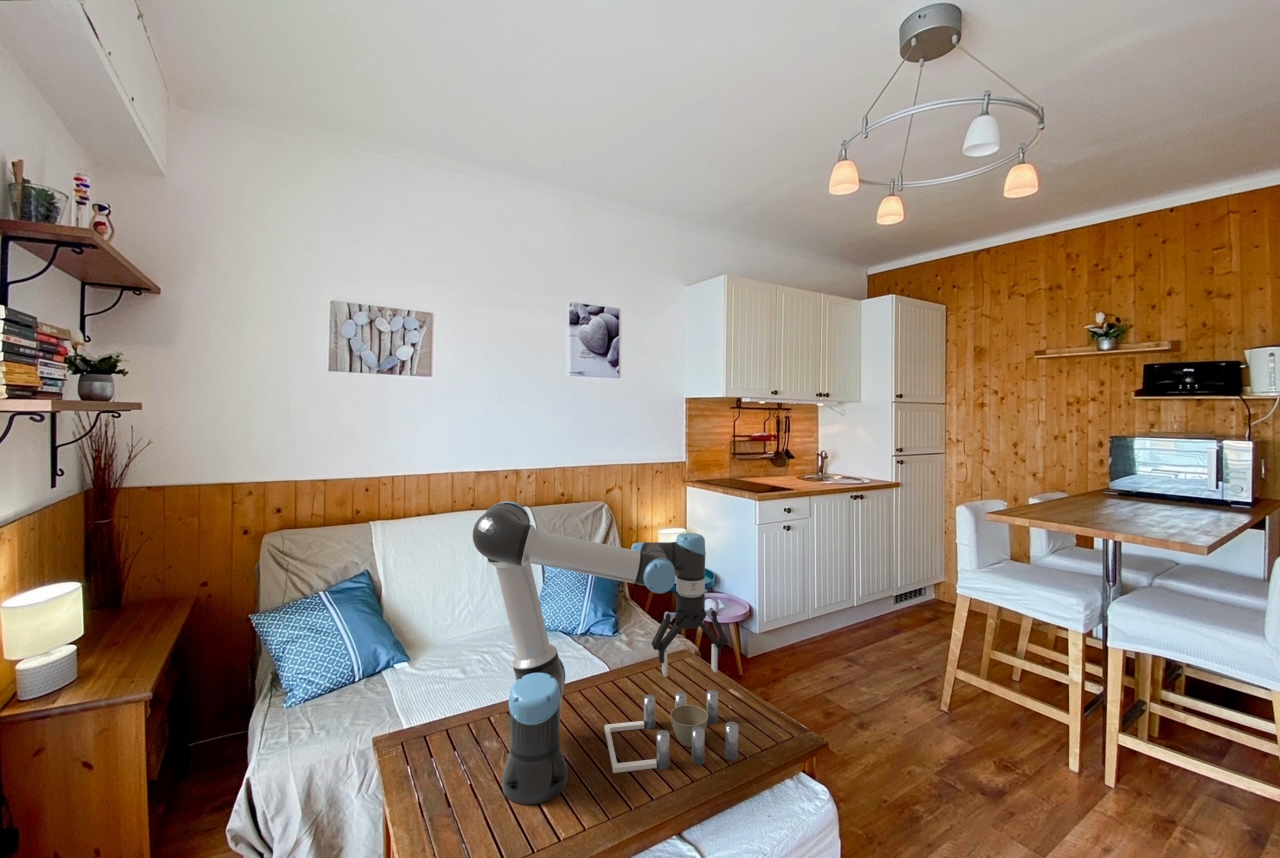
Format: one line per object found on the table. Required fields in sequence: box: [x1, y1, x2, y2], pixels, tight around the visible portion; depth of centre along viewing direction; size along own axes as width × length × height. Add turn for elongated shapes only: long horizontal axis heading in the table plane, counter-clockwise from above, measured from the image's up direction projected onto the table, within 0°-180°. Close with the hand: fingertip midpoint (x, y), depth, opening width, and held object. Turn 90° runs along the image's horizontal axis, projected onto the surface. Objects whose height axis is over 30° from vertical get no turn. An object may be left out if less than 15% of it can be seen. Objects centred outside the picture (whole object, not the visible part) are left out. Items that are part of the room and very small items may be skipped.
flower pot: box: [669, 704, 708, 748], centre depth 144 cm, size 10×10×7 cm
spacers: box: [643, 689, 739, 771], centre depth 144 cm, size 21×20×8 cm
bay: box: [604, 720, 658, 774], centre depth 141 cm, size 11×18×1 cm, turn 10°
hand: (689, 672), depth 143 cm, fingers open, 13 cm apart
